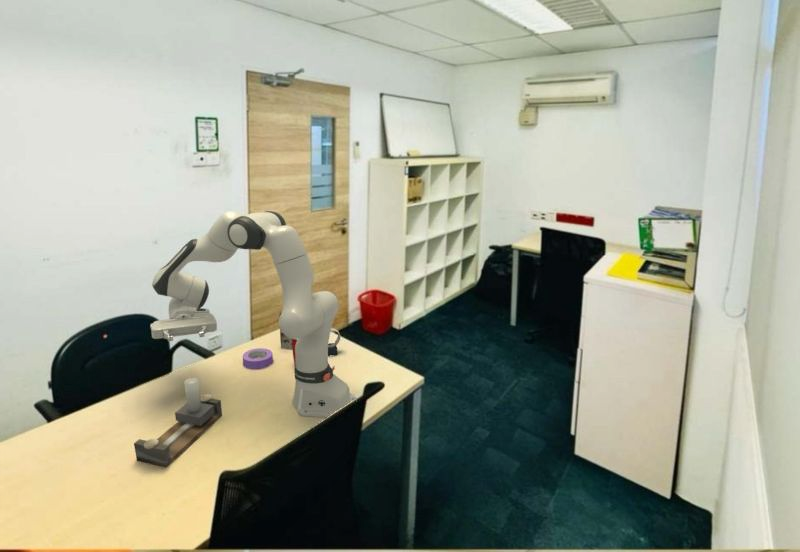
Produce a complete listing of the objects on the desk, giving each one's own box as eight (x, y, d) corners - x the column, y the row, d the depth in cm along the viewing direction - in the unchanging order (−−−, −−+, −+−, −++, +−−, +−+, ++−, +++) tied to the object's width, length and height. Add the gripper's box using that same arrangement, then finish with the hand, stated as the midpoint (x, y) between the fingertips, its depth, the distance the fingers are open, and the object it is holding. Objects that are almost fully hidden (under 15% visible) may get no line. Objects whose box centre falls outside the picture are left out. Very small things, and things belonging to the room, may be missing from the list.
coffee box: (294, 349, 202) (293, 315, 197) (280, 348, 202) (278, 314, 197) (301, 340, 210) (299, 307, 205) (287, 339, 211) (285, 306, 206)
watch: (320, 350, 201) (320, 327, 198) (339, 348, 204) (338, 325, 200) (322, 356, 196) (322, 333, 193) (341, 354, 198) (341, 331, 195)
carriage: (190, 408, 153) (186, 373, 149) (214, 413, 151) (210, 378, 147) (176, 420, 147) (171, 384, 143) (200, 425, 145) (196, 389, 141)
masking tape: (246, 356, 195) (245, 348, 194) (274, 355, 196) (274, 347, 195) (240, 370, 184) (239, 361, 182) (270, 369, 185) (269, 361, 184)
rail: (197, 409, 158) (195, 392, 156) (223, 414, 155) (221, 397, 153) (134, 462, 132) (131, 443, 130) (164, 469, 130) (161, 450, 128)
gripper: (149, 314, 158) (149, 332, 146) (213, 308, 167) (218, 324, 156) (151, 331, 160) (151, 350, 149) (214, 323, 169) (219, 341, 158)
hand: (186, 337), depth 152 cm, fingers open, 8 cm apart
